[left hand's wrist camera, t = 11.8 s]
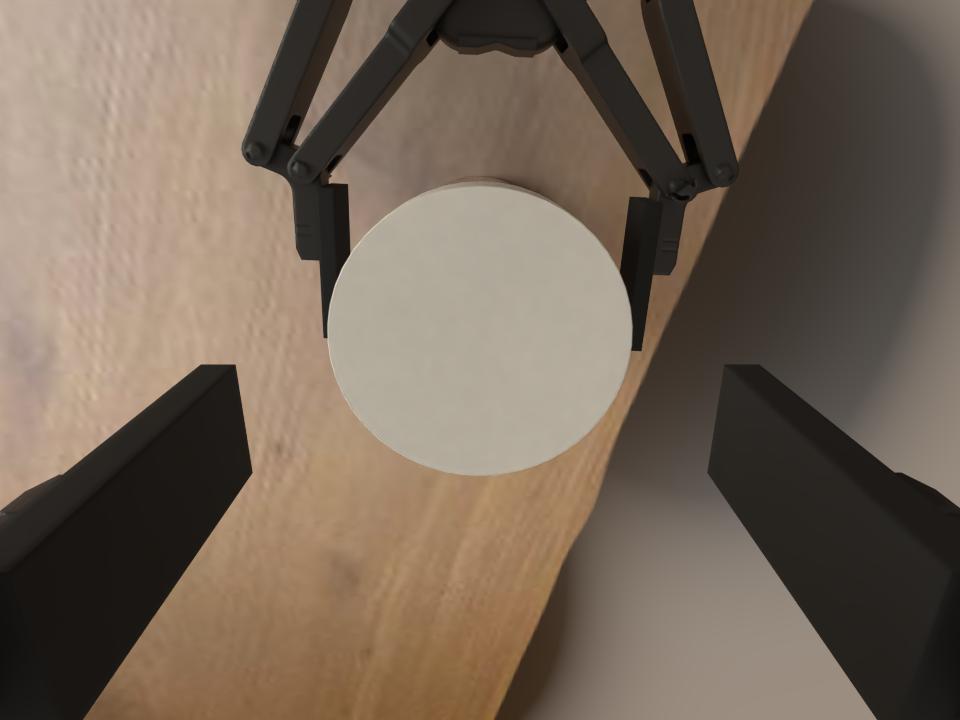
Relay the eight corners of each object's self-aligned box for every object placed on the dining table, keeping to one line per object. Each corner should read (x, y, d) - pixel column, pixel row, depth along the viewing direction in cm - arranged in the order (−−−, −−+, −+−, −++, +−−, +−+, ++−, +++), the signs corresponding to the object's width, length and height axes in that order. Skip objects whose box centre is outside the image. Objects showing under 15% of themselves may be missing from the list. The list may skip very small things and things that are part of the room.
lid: (500, 490, 22) (502, 523, 20) (289, 346, 20) (269, 368, 18) (675, 301, 20) (697, 319, 18) (453, 115, 18) (450, 111, 16)
